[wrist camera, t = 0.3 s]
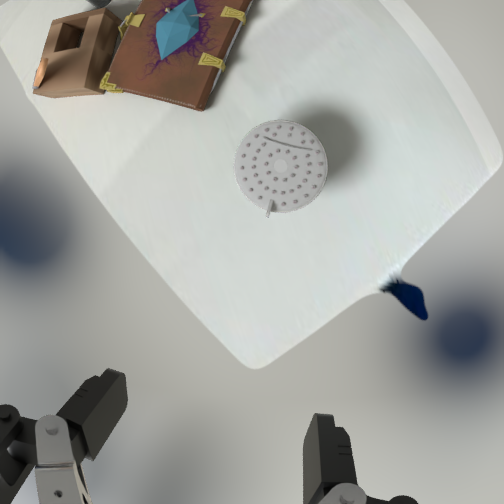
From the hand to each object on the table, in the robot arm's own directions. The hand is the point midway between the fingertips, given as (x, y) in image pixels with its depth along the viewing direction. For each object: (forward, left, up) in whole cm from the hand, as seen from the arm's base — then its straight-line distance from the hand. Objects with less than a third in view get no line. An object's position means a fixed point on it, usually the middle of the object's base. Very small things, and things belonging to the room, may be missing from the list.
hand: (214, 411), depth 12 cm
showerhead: (-10, +1, -29) cm, 30 cm away
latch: (-20, -31, -21) cm, 42 cm away
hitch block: (-24, -30, -29) cm, 48 cm away
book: (-29, -15, -29) cm, 44 cm away
